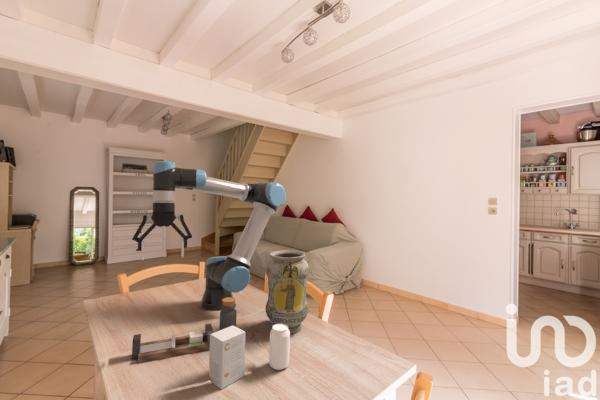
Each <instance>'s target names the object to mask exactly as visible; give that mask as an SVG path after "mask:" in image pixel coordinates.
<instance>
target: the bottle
mask: <svg viewBox="0 0 600 400" xmlns="http://www.w3.org/2000/svg"><path fill="white" fill-rule="evenodd" d="M222 303H223V304H222V305H221V308H222V309H221V310H220V312H219V328H218V329H219V330H218V331H220V330H222V329H225V328H227V327H230V326H232V325H233V326H235V327H237V316H238V315H237V313H238V312H237V310H236V309H235V308H236V307H237V304H236V298H235V297H233V298H232V297H227V298H224V299H222Z"/></svg>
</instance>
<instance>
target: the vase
mask: <svg viewBox="0 0 600 400" xmlns="http://www.w3.org/2000/svg"><path fill="white" fill-rule="evenodd" d="M269 256H270V258H271V259H270V260H269V261H268V262H267V264H266V265H265V274H266V277H267V285H268V287H267V290H268V293H267V294H268V297H267V300H266V304H265V314H266V317H267V318H268V319H269V321H270V322H271V324H270V328H271V329H272V327H273V325H275V324H285V325H287V326H288V329H289V331H290V335H291V334H295V333H299V332H300V331H301V330H302V329H303V324H302V323H303V322H304V321H305V320H306V318H307V317H308V314H309V310H310V309H309V303H308V299H307V287H308V286H307V285H308V276H309V274H310V265H309V264H308V262H307V260H305V259H304V258H305V257H306V254H305V252H304V251H299V250H287V249H285V250H276V251H275V250H274V251H271V252H270V253H269Z"/></svg>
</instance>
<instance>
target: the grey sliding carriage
mask: <svg viewBox="0 0 600 400" xmlns="http://www.w3.org/2000/svg"><path fill="white" fill-rule="evenodd" d="M171 338H172V341H167V342H161V343H155V344H149V345H143V346H141V343H142V334H141V333H138V334H134V335H133V338H132V344H131V345H132V347H131V348H132V349H131V360H135V359H138V355H139V354H142V353H147V352H153V351H159V350H164V349H170V348H175V338H176V334H172V335H171Z"/></svg>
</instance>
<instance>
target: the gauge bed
mask: <svg viewBox="0 0 600 400" xmlns="http://www.w3.org/2000/svg"><path fill="white" fill-rule="evenodd" d="M212 333H215V331H214V328H213V325H212V323H205V324H204V332H202V334H203V342H201V343H195V344H189V334H186V335H183V336H177V337H176V336H175V348H170V349H164V350H159V351H153V352H147V353H142V354H139V355H138V358H137V361H138V362H137V364H138V365H139V364H144V363H149V362H155V361H160V360H167V359H171V358H177V357H181V356H187V355H192V354H193V355H194V354H199V353H202V352H208V351H209V352H210V334H212ZM167 341H172V337H171V338H165V339H158V340H154V341H146V342H141V346H143V345H149V344H155V343H161V342H167Z"/></svg>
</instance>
